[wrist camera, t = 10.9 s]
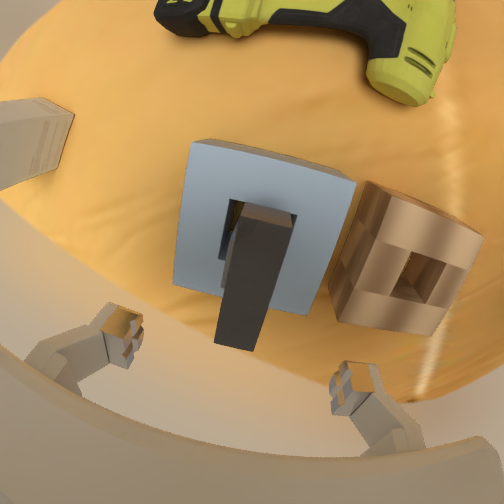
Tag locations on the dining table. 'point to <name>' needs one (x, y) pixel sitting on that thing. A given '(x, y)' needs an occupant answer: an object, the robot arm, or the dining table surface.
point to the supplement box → (30, 138)
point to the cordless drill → (347, 19)
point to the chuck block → (266, 194)
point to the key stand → (401, 263)
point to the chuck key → (251, 273)
